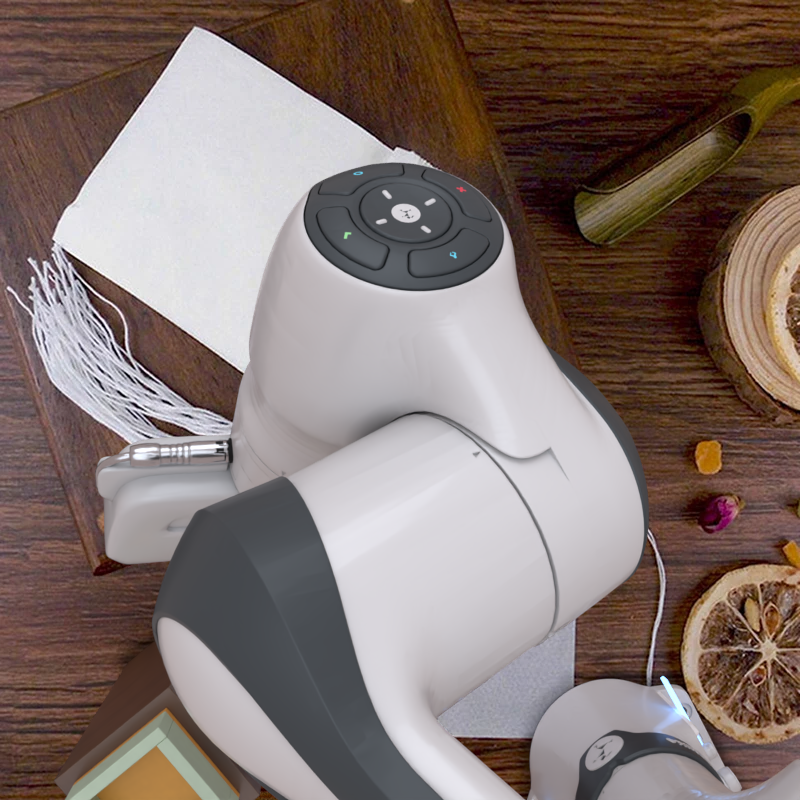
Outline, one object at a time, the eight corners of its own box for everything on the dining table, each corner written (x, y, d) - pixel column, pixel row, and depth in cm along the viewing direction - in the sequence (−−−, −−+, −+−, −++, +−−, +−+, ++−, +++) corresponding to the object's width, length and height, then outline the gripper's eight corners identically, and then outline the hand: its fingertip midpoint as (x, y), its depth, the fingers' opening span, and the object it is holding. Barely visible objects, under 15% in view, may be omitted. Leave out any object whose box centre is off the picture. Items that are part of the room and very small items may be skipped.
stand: (272, 674, 88) (260, 795, 62) (192, 740, 88) (146, 889, 62) (208, 597, 88) (168, 686, 62) (127, 662, 87) (53, 780, 61)
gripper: (96, 517, 42) (100, 626, 53) (538, 488, 48) (457, 592, 59) (92, 390, 45) (96, 520, 56) (507, 379, 51) (436, 497, 62)
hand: (284, 557), depth 58 cm, fingers open, 8 cm apart
